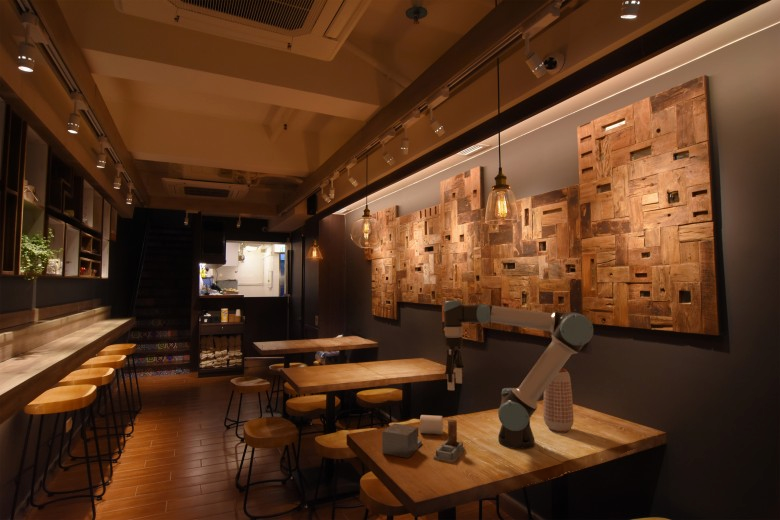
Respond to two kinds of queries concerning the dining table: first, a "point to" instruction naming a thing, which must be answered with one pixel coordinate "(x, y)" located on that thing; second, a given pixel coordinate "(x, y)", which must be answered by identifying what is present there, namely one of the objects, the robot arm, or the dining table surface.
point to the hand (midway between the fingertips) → (455, 386)
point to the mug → (431, 424)
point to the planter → (559, 403)
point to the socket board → (449, 452)
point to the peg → (452, 433)
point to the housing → (400, 440)
